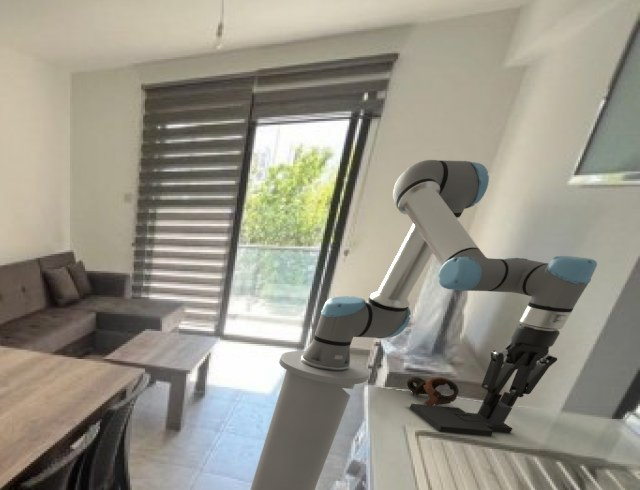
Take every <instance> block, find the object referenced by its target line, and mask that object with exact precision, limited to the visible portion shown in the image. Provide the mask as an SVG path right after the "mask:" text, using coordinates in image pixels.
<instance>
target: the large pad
mask: <svg viewBox="0 0 640 490" xmlns="http://www.w3.org/2000/svg"><path fill="white" fill-rule="evenodd" d="M409 410H411V411H412V412H413V413H414V414H416V415H417V416H419V417H420V418H421V419H422V420H423V421H425V422H426V423H427V424H428V425H430V426H432V427H433V428H434V429H435V430H437V431H438V432H441V433H450V434H462V435H473V436H483V437H484V436H485V437H492V435H493V433H495V432H494V431H493V430H491V429H490V428H488V427H487V426H485V425H484V424H482V423H481V422H471V421H463V420H462V419H460V418H459V417H457V415H463V416H470V415H469V414H467V413H468V412H466V411H465V410H463V409H461V408H460V407H455V406H445V405H444V406H443V405H435V404H434V405H426V404H422V403H411V404H410V406H409Z"/></svg>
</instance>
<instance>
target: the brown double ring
mask: <svg viewBox="0 0 640 490" xmlns="http://www.w3.org/2000/svg"><path fill="white" fill-rule="evenodd" d="M415 384H416V385H415ZM445 385H448V387H449V389H450V390H451V391H453V393H452V394H449V395H448V394H447V395H446V394H442V392H440V391H439V390H437V389H436V388H438V387H439V386H445ZM406 386H407V388H408V389H409V391H411V394H412V396H419V395H426V396H428V399H427V400H425V401H424V405H434V406H443V405H448V404H451V403H453V402H455V400H456V399H457V397H458V395H459V387H458V385H457V384H456V383H455V382H453V380H450V379H448V378H445V377H442V376H441V377H440V376H435V377H432V378H431V379H426V380H425V379H423V378H421V377H419V376H411V377H409V378H407V381H406Z"/></svg>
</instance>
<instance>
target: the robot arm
mask: <svg viewBox="0 0 640 490" xmlns="http://www.w3.org/2000/svg"><path fill="white" fill-rule="evenodd" d="M489 181H490V176H489V171H488V169H487V167H486V166H485V165H483V164H482V163H480V162H475V161H470V160H469V161H468V160H444V159H443V160H441V159H439V160H437V159H425V160H422V161H419V162H416V163H413V164H412V165H410V166H409V167H408V168H406V169H405V170H404V171H403V172H402V173H401V174H400V175H399V177H398V178H397V180H396V181H395V184H394V186H393V190H392V199H393V202H394V205H395V206H396V208H397V210H398V211H399V212H400V213H401V214H403V215H407V216H408V218H409V219H410V221H411V222H412V225H411V227H410V229H409V231H408V233H407V235H406V237H405V238H404V240H403V242H402V244H401V246H400V248H399V250H398V252H397V254H396V256H395V258H394V259H393V261H392V263H391V266H390V267H389V269H388V271H387V273H386V275H385V276H384V279H383V281H382V282H381V285H380V287H379V288H378V290H376V291H374V292H372V293H371V294H370V295H369V297H368V299H367V301H366V300H365V298H362V297H358V296H347V295H346V296H343V295H341V296H335V297H331V298H329V299H327V300H326V301H325V303H324V304H323V307H322V309H321V311H320V316H319V319H318V323H317V326H316V329H315V332H314V335H313V338H312V340H311V342H310V343H309V345H308V346H307V347H306V349H305V350H304V351H305V352H304V353H303V355H302V357H301V361H302V362H303V363H304V364H306V365H308V366H311V367H314V368H317V369H321V370H327V371H345V370H347V369H348V368H349V364H350V360H351V344H352V341H353V339H354V338H370V339H371V338H372V339H389V338H394V337H397V336H399V335H400V334H402V332H404V330H405V329H406V328H407V327H408V325H409V323H410V320H411V309H410V307H409V306H410V301H409V299H408V298H409V296H410V294H411V293H412V291H413V289H414V287H415V285H416V283H417V282H418V280H419V278H420V276H421V275H422V273H423V272H424V270H425V267H426V266H427V265H428V262H429V260H430V259H431V257H432V255H434V257H435V258H436V260H437V261H438V263H439V264H440V266H441V267H440V269H439V272H438V278H439V279H438V283H439V285H440V287H442V288H443V289H446V290H453V291H457V292H465V291H466V292H468V291H469V292H491V293H492V292H496V293H514V294H519V295H524V296H527V297H531V298H530V300H529V302H528V304H527V306H526V308H525V310H524V312H523V313H522V315H521V317H520V319H519V323H520V324H518V325H517V326H516V327H515V329H514V331H513V333H512V334H511V337H510V343H509V344H508V345H507V346H505V348H504V349H501V350H491V352H490V361H489V364H488V367H487V369H486V372H485V375H484V378H483V380H482V383H481V388H482V389H484V390H486V391H487V393H486V394H485V396H484V399H483V401H482V403H484V406H483V408H482V410H481V411H480V413H479V414H480V415H482V416H483V417H485V418H487V419H489V418H490V416H491V415H492V413H493V411H494V409H495V407H496V405H497V404H498V402H499V401H501V402H503V403H504V404H506V405H508V406H510V407H511V408H513V407H514V405H515V403H516V402H517V400H518V398H523V397H524V395H530V394H531V393H532V392H533V391H534V389H535V388H536V386H537V385H538V383H539V382H540V380H541V379H542V378H543V376H544V375H545V374H546V373H547V371H548V370H549V368H550V367H551V366H552V365H553V364H555V363H557V361H558V357H556V356H553V355H551V354H550V353H549V352H550V351H549V349H550V348H551V347H552V346H554V345H555V343H556V341H557V339H558V338H559V336H560V334H561V333H560V330H562V329H563V328H564V327H565V325H566V323H567V321H568V319H569V318H570V316H571V314H572V312H573V310H574V308H575V306H576V305H577V303H578V301H579V299H580V298H581V296H582V294H583V293H584V291H585V289H586V288H587V286H588V285H589V283H590V282H591V281H592V277H593V275H594V273H595V271H596V268H597V266H598V262H597V261H596V260H595V259H592V258H588V257H580V256H579V257H578V256H568V255H557V256H553V258H551V260H550V262H549V263H548V262H541V261H536V260H531V259H529V258H528V259H527V258H524V257H521V258H519V257H509V258H508V257H507V258H492V257H491V258H490V257H489V258H488V257H487V256H486V255H485V253H483V252H482V251H481V249H480V247H479V246H478V245H477V243H476V242H475V240H473V238H472V237H471V235H470V234H469V232H468V231H467V230H466V228H465V227H464V226H463V224H462V223H461V221H459V219H460V217H461V216H462V214H463V213H464V211H465V209H466V210H467V209H470V208H472V207H474V206H475V205H476V204H478V203H480V201H481V200H482V198H484V196H485V194H486V192H487V190H488V186H489ZM515 372H516V373H515ZM514 373H515V375H514V377H513V380H512V383H511V385H510V387H509V390H508V391H504V392H503V394H500V393H501V392H502V390H503V389H504V387H505V386H506V384H507V383H508V381H509V380H510V378H511V377H512V376H513V374H514Z"/></svg>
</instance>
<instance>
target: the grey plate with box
mask: <svg viewBox="0 0 640 490" xmlns="http://www.w3.org/2000/svg"><path fill="white" fill-rule="evenodd" d="M483 406H484V403H483V402H482V404H481V406H480V407H479V409H478V411H477V413H476V412H475V413H474V412H466V413H467V414H469V415H470V416H463V415H457V417H459V418H460V419H462V420H463V421H471V422H481V423H482V424H484V425H485V426H487V427H488V428H490V429H491V430H493V431H494V432H493V433H501V434H511V433H512V431H513V427H511V426H510V425H508V424H507V423H505V422H506V420H507V419H508V417H509V414H510V412H511V410H513V407H510V406H508V405H506V404H504V403H503V402H501V401H500V400H499V402H498V404H497V405H496V407H495V409H494V411H493V413H492V415H491V416H490V418H489V419H487V418H485V417H483V416H482V415H480V414H479V413H480V411H481V410H482V408H483Z"/></svg>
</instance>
